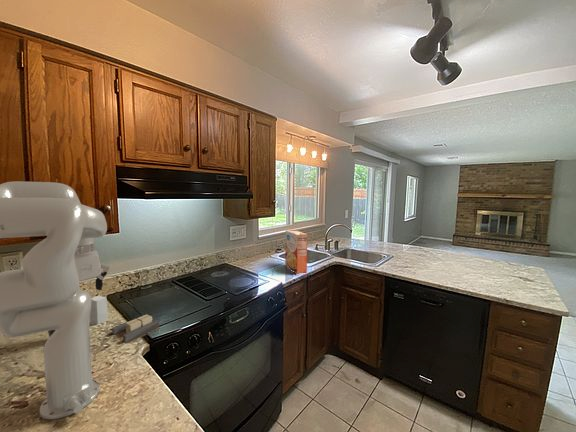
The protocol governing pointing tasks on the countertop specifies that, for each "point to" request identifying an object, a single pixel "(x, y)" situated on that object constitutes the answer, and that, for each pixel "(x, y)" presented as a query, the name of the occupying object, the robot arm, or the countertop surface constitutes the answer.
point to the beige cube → (145, 320)
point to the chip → (133, 325)
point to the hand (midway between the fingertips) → (84, 293)
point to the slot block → (134, 331)
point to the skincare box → (98, 310)
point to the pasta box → (296, 251)
